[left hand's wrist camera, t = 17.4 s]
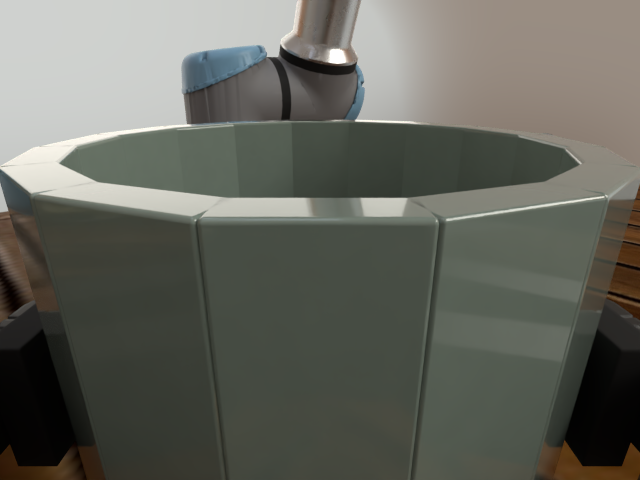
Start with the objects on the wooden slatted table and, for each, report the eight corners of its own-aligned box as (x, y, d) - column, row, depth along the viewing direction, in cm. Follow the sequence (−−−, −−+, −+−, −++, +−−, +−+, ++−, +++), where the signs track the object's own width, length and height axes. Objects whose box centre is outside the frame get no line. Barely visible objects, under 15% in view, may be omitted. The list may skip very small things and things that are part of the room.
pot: (80, 514, 12) (-39, 139, 8) (320, 360, 19) (320, 115, 15) (318, 1066, 5) (313, 425, 1) (560, 516, 12) (680, 139, 8)
